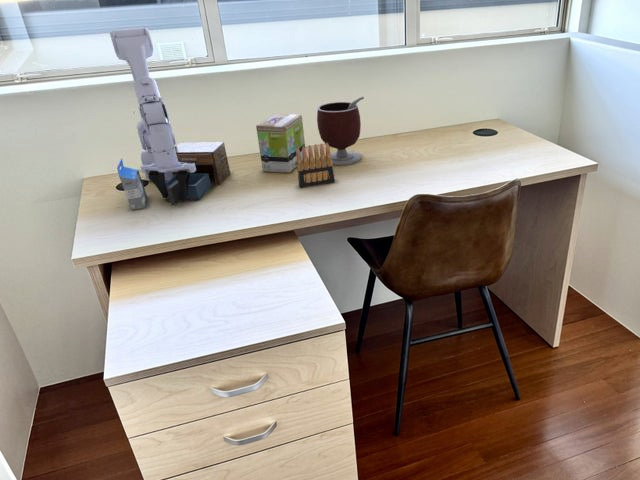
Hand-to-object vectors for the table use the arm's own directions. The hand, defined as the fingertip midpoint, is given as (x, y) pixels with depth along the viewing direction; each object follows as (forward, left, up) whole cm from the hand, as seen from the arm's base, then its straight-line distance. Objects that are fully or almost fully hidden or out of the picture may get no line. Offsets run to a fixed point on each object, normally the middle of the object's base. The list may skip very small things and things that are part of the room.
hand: (176, 196), depth 156 cm
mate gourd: (+42, +38, -3) cm, 57 cm away
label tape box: (-12, +1, -3) cm, 12 cm away
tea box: (+23, +33, -3) cm, 40 cm away
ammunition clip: (+37, +15, -3) cm, 40 cm away
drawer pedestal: (0, +20, -2) cm, 20 cm away
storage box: (0, +5, -2) cm, 6 cm away
